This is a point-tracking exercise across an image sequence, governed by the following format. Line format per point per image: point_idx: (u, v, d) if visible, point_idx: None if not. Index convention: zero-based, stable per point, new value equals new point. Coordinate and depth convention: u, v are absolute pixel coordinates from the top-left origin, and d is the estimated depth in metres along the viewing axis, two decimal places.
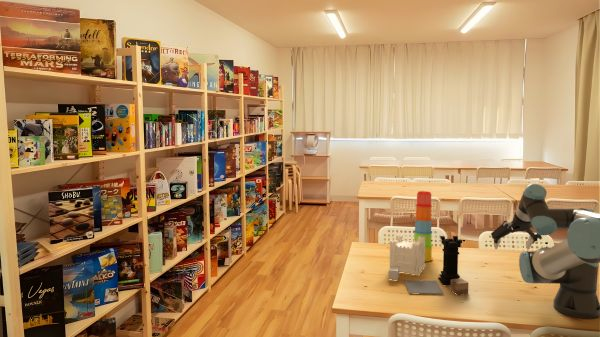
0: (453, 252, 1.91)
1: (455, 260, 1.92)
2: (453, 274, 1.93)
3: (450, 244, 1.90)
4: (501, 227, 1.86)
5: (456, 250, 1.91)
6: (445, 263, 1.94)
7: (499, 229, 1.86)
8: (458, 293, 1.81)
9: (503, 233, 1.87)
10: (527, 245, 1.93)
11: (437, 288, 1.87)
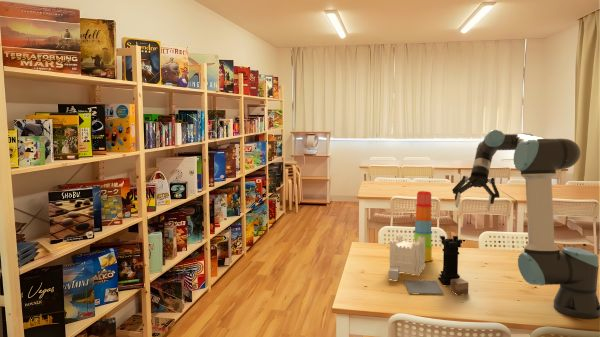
0: (453, 252, 1.91)
1: (455, 260, 1.92)
2: (453, 274, 1.93)
3: (450, 244, 1.90)
4: None
5: (456, 250, 1.91)
6: (445, 263, 1.94)
7: None
8: (458, 293, 1.81)
9: None
10: None
11: (437, 288, 1.87)
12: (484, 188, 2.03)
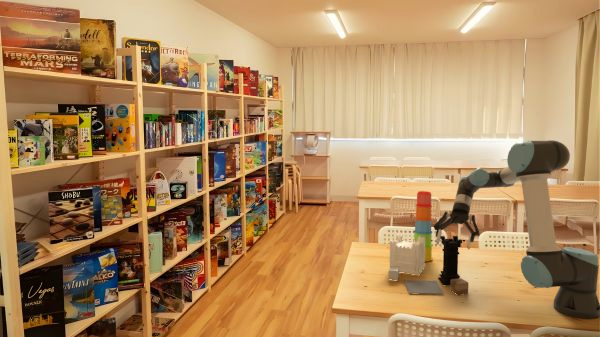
0: (453, 252, 1.91)
1: (455, 260, 1.92)
2: (453, 274, 1.93)
3: (450, 244, 1.90)
4: None
5: (456, 250, 1.91)
6: (445, 263, 1.94)
7: None
8: (458, 293, 1.81)
9: None
10: None
11: (437, 288, 1.87)
12: (465, 225, 2.03)
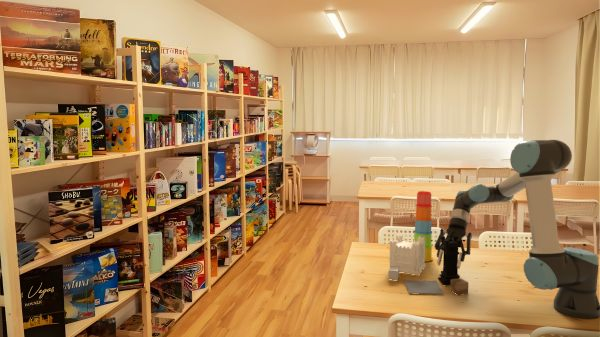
0: (453, 252, 1.91)
1: (455, 260, 1.92)
2: (453, 274, 1.93)
3: (450, 244, 1.90)
4: None
5: (456, 250, 1.91)
6: (445, 263, 1.94)
7: None
8: (458, 293, 1.81)
9: None
10: None
11: (437, 288, 1.87)
12: None
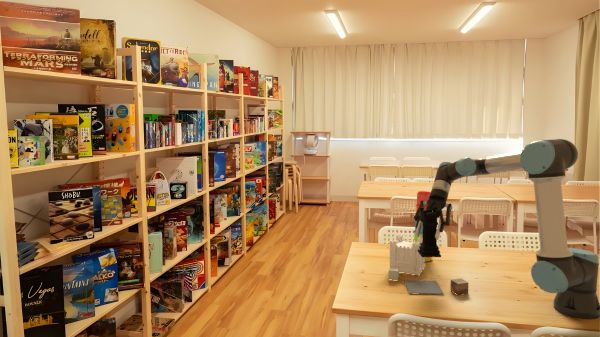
0: (432, 223, 1.86)
1: (434, 231, 1.87)
2: (432, 245, 1.88)
3: (428, 214, 1.85)
4: None
5: (435, 221, 1.86)
6: (424, 234, 1.89)
7: None
8: (458, 293, 1.81)
9: None
10: None
11: (437, 288, 1.87)
12: None
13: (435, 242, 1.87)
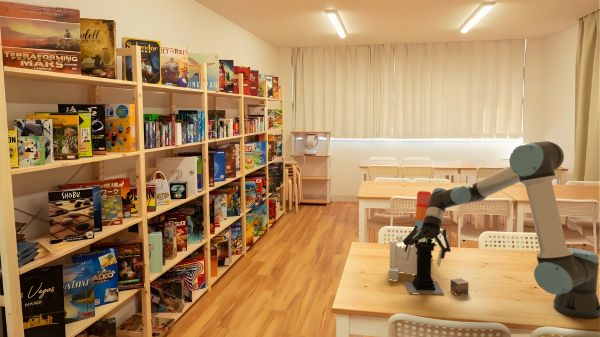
0: (426, 256, 1.85)
1: (428, 264, 1.86)
2: (426, 278, 1.87)
3: (423, 247, 1.84)
4: None
5: (429, 253, 1.85)
6: (418, 267, 1.88)
7: None
8: (458, 293, 1.81)
9: None
10: None
11: (437, 288, 1.87)
12: (436, 240, 1.91)
13: (429, 275, 1.87)
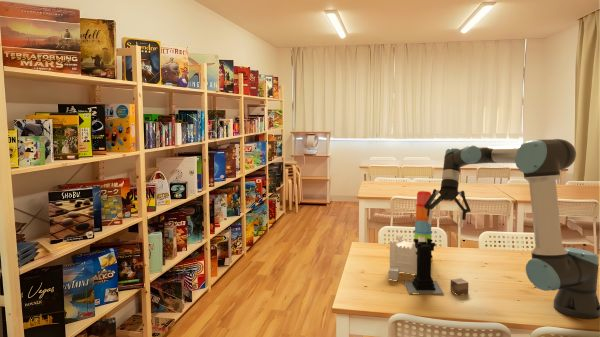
0: (426, 256, 1.85)
1: (428, 264, 1.86)
2: (426, 278, 1.87)
3: (423, 247, 1.84)
4: None
5: (429, 253, 1.85)
6: (418, 267, 1.88)
7: None
8: (458, 293, 1.81)
9: None
10: None
11: (437, 288, 1.87)
12: (455, 201, 2.01)
13: (429, 275, 1.87)
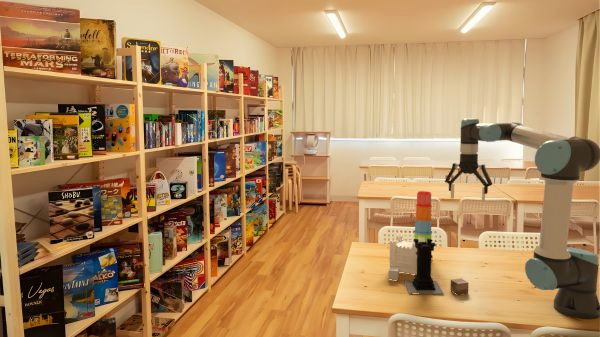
0: (426, 256, 1.85)
1: (428, 264, 1.86)
2: (426, 278, 1.87)
3: (423, 247, 1.84)
4: (451, 169, 2.05)
5: (429, 253, 1.85)
6: (418, 267, 1.88)
7: (450, 171, 2.05)
8: (458, 293, 1.81)
9: (454, 176, 2.04)
10: None
11: (437, 288, 1.87)
12: None
13: (429, 275, 1.87)
